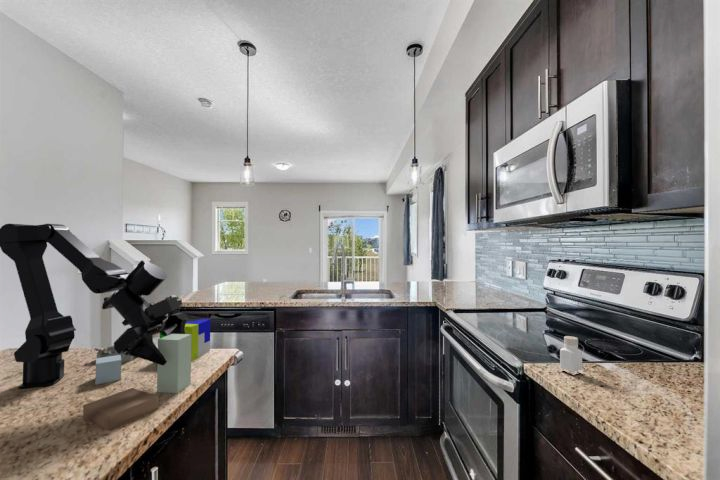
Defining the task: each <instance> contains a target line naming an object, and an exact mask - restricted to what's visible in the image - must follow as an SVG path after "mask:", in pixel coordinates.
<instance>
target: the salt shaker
mask: <svg viewBox="0 0 720 480" xmlns="http://www.w3.org/2000/svg"><path fill="white" fill-rule="evenodd" d="M563 344H564V347H562V348H560V350H559V365H560V366H559V368H560V367H561V368H563V369H566V370H569V371H572V372H575V371H578V370H581V369H582V370H583V351H581V350H580V349H578V348H579V347H578V346H579V338H578V337H577V336H576V337H575V336H572V335H571V336H570V335H565V336H563Z"/></svg>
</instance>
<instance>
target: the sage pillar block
mask: <svg viewBox="0 0 720 480" xmlns="http://www.w3.org/2000/svg"><path fill="white" fill-rule="evenodd" d="M157 348H158V350H159V351H160V352H161V354H162V355H163V356H164V358H165V359H166V361H167V363H166V364H165V365H160V364H157V363H156V364H157V365H156V366H157V369H156V370H157V371H156V372H157V375H156V376H157V377H156V393H167V394H168V393H171V394H178V393H180V392H182V391H183V390H185V389H186V388H187V387H188V386H190V385H191V380H192V377H191V376H192V374H191V373H192V361H191V334H170V335H168V336H165V337H162V338H160V337H159V338H158V339H157Z"/></svg>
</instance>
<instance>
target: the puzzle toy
mask: <svg viewBox="0 0 720 480" xmlns="http://www.w3.org/2000/svg"><path fill="white" fill-rule="evenodd" d="M184 330H185V334H191V362H192V361H194V360H196V359H198V358H199V357H201V356H203V355H204V354H206V353H208V352H210V351H211V318H209V319H208V318H207V319H205V318H204V319H203V318H188V319H187V323H186V324H185V328H184ZM162 337H165V336H163V335H162V334H161V333H159V339H160V338H162ZM207 351H208V352H207ZM197 357H198V358H197ZM195 358H196V359H195Z"/></svg>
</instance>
